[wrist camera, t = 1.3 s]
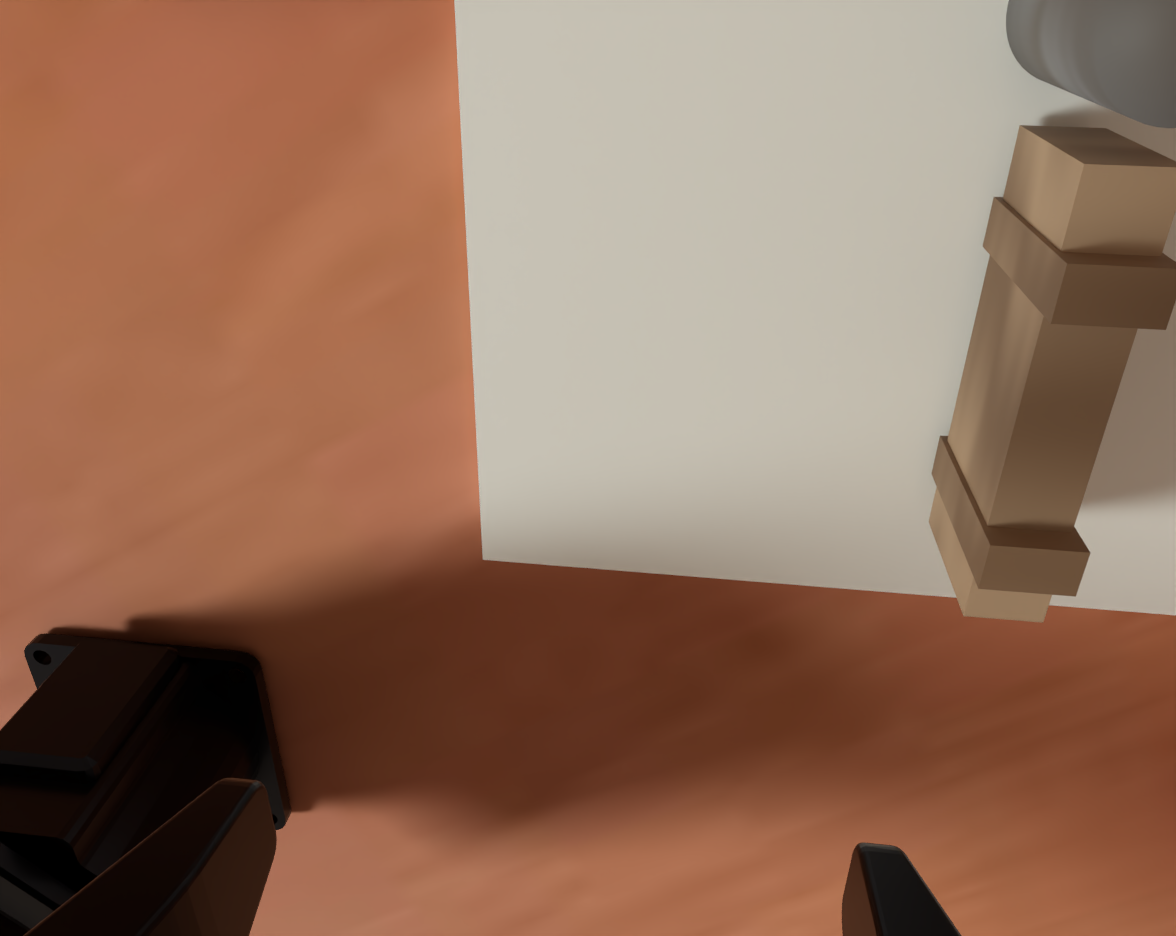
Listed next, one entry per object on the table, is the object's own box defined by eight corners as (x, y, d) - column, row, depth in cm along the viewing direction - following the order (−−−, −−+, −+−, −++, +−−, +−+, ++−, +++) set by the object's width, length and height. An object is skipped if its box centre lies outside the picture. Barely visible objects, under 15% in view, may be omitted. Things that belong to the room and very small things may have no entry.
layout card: (1328, 616, 21) (1340, 630, 20) (486, 550, 22) (481, 561, 22) (2194, -1080, 10) (2259, -1124, 9) (414, -945, 12) (403, -978, 11)
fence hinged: (1010, 122, 16) (1091, 172, 13) (1107, 125, 16) (1216, 177, 12) (921, 516, 20) (965, 636, 17) (999, 522, 20) (1059, 644, 16)
